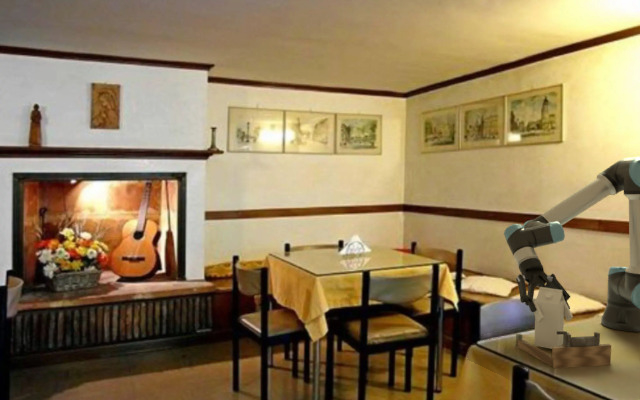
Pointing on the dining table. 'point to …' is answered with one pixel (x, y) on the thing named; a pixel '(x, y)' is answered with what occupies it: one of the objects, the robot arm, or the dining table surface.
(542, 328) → the milk carton
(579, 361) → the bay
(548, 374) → the dining table surface
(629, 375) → the dining table surface
